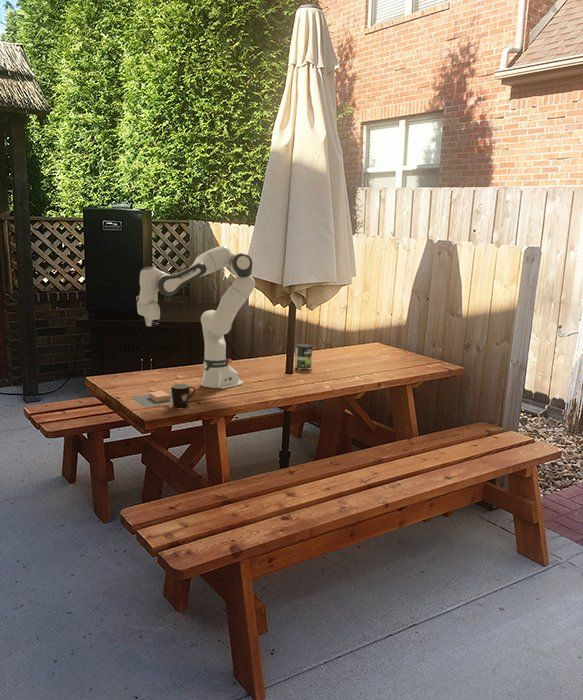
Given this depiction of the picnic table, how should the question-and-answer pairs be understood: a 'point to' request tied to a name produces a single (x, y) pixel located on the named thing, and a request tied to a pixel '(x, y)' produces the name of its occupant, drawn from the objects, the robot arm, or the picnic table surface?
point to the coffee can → (303, 356)
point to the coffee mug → (180, 395)
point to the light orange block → (159, 396)
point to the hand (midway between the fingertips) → (148, 325)
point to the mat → (150, 400)
